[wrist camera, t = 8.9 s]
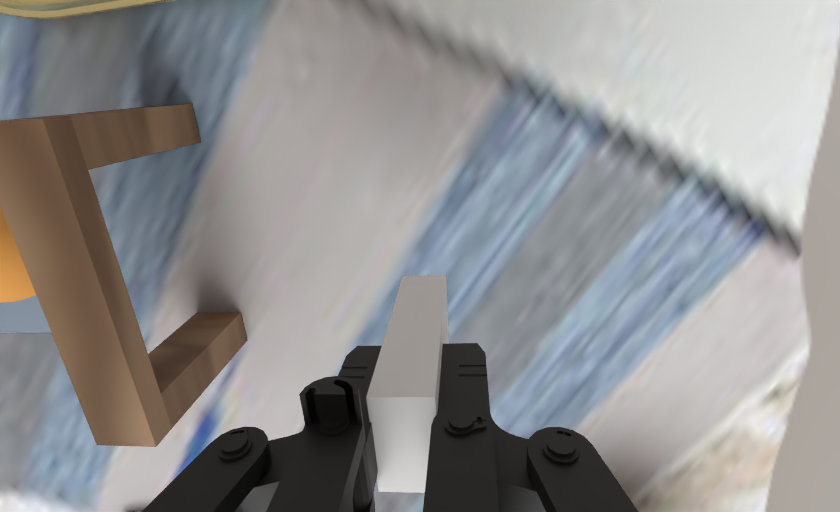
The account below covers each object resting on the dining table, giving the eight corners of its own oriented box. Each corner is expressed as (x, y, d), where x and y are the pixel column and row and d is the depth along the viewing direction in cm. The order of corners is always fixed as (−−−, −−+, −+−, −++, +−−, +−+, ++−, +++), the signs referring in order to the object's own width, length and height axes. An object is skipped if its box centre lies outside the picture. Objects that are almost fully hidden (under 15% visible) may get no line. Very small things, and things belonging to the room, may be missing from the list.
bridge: (203, 340, 30) (96, 444, 22) (140, 107, 25) (-34, 123, 16) (247, 340, 30) (156, 446, 21) (192, 103, 25) (42, 118, 16)
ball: (-17, 328, 23) (97, 286, 28) (-63, 225, 22) (67, 197, 26) (-57, 309, 26) (53, 273, 31) (-101, 215, 24) (23, 191, 29)
